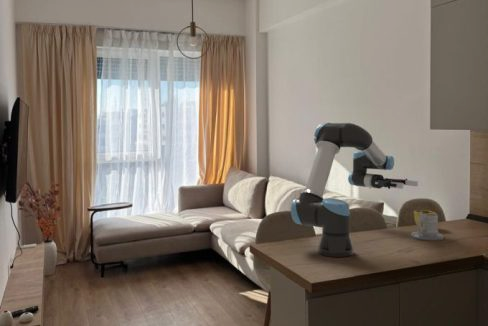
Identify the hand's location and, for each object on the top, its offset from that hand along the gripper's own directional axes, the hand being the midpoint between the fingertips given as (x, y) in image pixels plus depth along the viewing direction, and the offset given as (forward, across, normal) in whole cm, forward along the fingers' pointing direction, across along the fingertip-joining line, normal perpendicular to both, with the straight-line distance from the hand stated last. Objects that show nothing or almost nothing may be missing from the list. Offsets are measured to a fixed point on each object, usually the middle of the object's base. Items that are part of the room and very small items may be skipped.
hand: (410, 184), depth 234 cm
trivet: (+10, 0, -25) cm, 27 cm away
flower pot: (-1, -17, -25) cm, 30 cm away
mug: (+10, 0, -24) cm, 26 cm away
